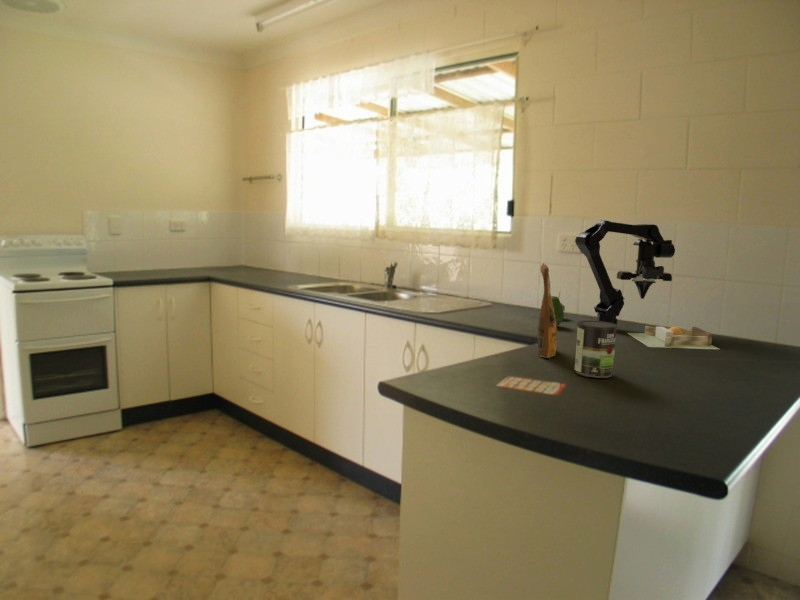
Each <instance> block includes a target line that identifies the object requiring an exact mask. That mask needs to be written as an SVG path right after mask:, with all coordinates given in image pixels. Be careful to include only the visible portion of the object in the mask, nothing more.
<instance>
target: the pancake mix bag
mask: <svg viewBox="0 0 800 600" xmlns="http://www.w3.org/2000/svg"><path fill="white" fill-rule="evenodd" d="M549 270H550V269H549V267H548V265H546V264H545V263H544V262H543V263H542V264H541V265H540V273H541V276H542V278H543V296H542V300H541V306H540V312H539V317H538V326H537V327H538V328H537V351H538V356H539V355H542V356H544V357H549V356H556V353H557V348H558V347H557V346H558V328H557V327H558V326H556V319H555V314H554V308H553V303H552V298H551V296H552V295H551V294H552V293H551V279H550V273H549Z"/></svg>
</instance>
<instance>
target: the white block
mask: <svg viewBox="0 0 800 600" xmlns="http://www.w3.org/2000/svg"><path fill="white" fill-rule="evenodd" d="M655 327H656V334H655V337H657V338H658V339H660V340H662V341H664V342H665V338H666V337H669V336H673V334H674V332H673V331H671V330H669V329H670V328H666V327H665V326H655Z"/></svg>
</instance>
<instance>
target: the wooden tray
mask: <svg viewBox="0 0 800 600" xmlns="http://www.w3.org/2000/svg"><path fill="white" fill-rule="evenodd" d="M681 329H682V331H683V335H673V336H669V337H666V338H665V347H670V346H673V345H700V346H711V345H712V340H713V338H712V337H713V334H712V333H711V332H708V331H706V330H703V329H701V328H699V327H697V326H692V328H691V329H690V328H689V329H684V328H681ZM643 334H645V335H650V336H655V334H656V326H655V327H654V326H648V325H645V326H644V333H643Z"/></svg>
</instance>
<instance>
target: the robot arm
mask: <svg viewBox="0 0 800 600" xmlns="http://www.w3.org/2000/svg"><path fill="white" fill-rule="evenodd" d="M607 233H616V234H624V235H629V236H632V237H634V238H636V239H637V240H636V241H635V242H634V243H633V246H637V247H638V249H637V259H636V260H635V262H636V269H635V273H632V272H631V271H627V270H625V271H624V270H618V271H617V274H616V279H618V280H622V281H630V280H631V282H634V284H635V286H636V287H637V291H638V294H639V298H640V299H642V300H644V299H645V297H646V296H647V293H648V291H649V289H650V287H651V286H652V285H653V284H656V283H657V281H655V280H662V282H672V281H673V275H672V273H670V272H665V267H664V266H663V265H657V266H656V261H655V258H656V259H657V258H658V259H670V258H673V257H674V256H675V253H676V248H675V245H674V244H673V240H672V239H664V237H663V236H662V233H661V232H660V228H659V227H658V225H657V224H650V223H648V224H647V223H641V224H639V223H638V224H629V223H622V222H616V221H615V222H614V221H610V220H599V221H598V222H597V223H595V224H594V225H592V226H590V227H589V228H587V229H585V230H584V231H583V232H580V233H578V234H577V236H576V238H575V244H576V246H577V248H578V249H579V251H580V253H582V254H583V255H584V256H585V258H586V259H587V262H588V264H589V267H590V269H591V271H592V273H593V276H594V279H595V282H596V283H597V286H598V288H599V302H598V303H597V304H596V305H595V306H594V307H593V308H594V312H595V313H597V314H596V321H603V322H610V323H613V324H616V325H617V326H618V318H617V317H619V316H620V314H621V311H622V309H623V307H624V305H625V301H624V300H625V299H626V298H625V297H624V296H623V292H622V290H621V289H619V288H615V287H614V286H613V283H612V281H611V278H610V276H609V274H608V273H609V272H608V271H607V269H606V267H605V266H606V265H605V264H604V261H603V259H602V257H601V254H600V252H601V250H600V249H601V245H600V242H601V241H602V240H603V239H604V238H605V236H606V235H607Z"/></svg>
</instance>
